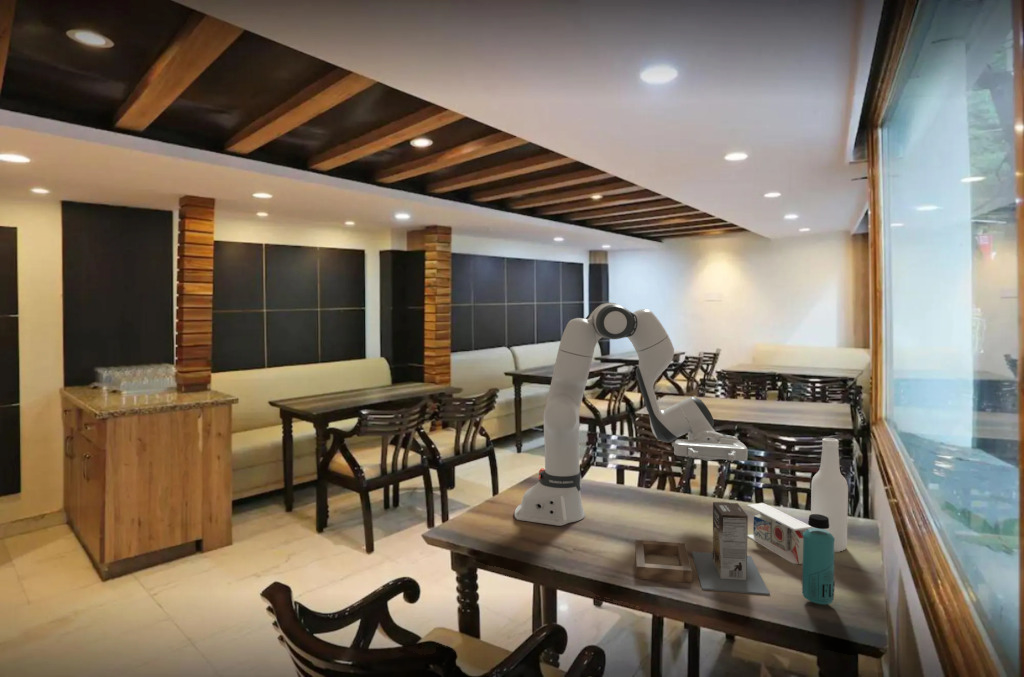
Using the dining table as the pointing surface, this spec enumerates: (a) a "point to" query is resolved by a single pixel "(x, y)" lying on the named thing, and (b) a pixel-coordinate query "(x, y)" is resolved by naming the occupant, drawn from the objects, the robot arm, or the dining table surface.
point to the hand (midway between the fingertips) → (713, 456)
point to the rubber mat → (714, 582)
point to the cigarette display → (779, 532)
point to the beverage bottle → (818, 561)
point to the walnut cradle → (662, 571)
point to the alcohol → (831, 493)
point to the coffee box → (730, 540)
